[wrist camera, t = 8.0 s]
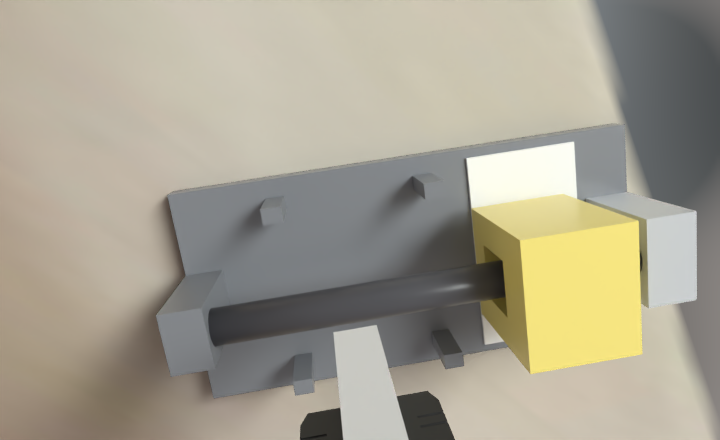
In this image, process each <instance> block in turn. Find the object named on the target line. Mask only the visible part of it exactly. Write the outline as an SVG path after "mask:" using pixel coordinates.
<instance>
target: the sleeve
mask: <svg viewBox="0 0 720 440" xmlns="http://www.w3.org/2000/svg"><path fill="white" fill-rule="evenodd" d="M471 211H472V221H473V231H474V241H475V251H476V261H477V264H480V263H486V262H492V261H498V260H502V261H503V271H504V282H505V294H506V297H504V298H498V299H492V300H486V301H481V312H482V314H483V316H484V317H485V318H486V319H487V321H488V322H489V323H490V324H491V326H492V327H493V328H494V329H495V331H496V332H497V333H498V334H499V336H500V337H501V338H502V339H503V341H504V342H505V343H506V344H507V345H508V347H509V348H510V349H511V350H512V352H513V353H514V354H515V355H516V357H517V358H518V359H519V360H520V362H521V363H522V364H523V365H524V367H525V368H526V369H527V370H528V372H529V373H530V374H534V373H540V372H545V371H551V370H556V369H562V368H568V367H573V366H579V365H584V364H590V363H596V362H601V361H607V360H612V359H618V358H624V357H629V356H635V355H640V354H642V327H641V289H640V252H639V221H638V220H635V219H632V218H629V217H626V216H624V215H621V214H618V213H615V212H612V211H610V210H607V209H604V208H601V207H598V206H596V205H593V204H590V203H587V202H584V201H582V200H579V199H576V198H573V197H570V196H568V195H565V194H558V195H551V196H545V197H539V198H533V199H527V200H520V201H514V202H508V203H502V204H495V205H489V206H483V207H477V208H471Z"/></svg>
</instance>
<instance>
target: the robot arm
mask: <svg viewBox="0 0 720 440" xmlns="http://www.w3.org/2000/svg"><path fill="white" fill-rule="evenodd" d="M333 334H334V345H335V355H336V366H337V377H338V388H339V399H340V408H337V409H331V410H326V411H320V412H314V413H309V414H307V416H306V418H305V419H304V421H303V423H302V424H301V427H300V440H455V439H454V436H453V434H452V431H451V429H450V427H449V424H448V423H447V419H446V417H445V414H444V413H443V410H442V407H441V405H440V402H439V400H438V399H437V398H436V397H434V396H433V395H432V394H431V393H429V392H428V391H425V392H419V393H413V394H408V395H402V396H396V393H395V389H394V386H393V382H392V378H391V375H390V371H389V368H388V364H387V360H386V357H385V353H384V350H383V346H382V343H381V339H380V335H379V332H378V328H377V325H374V326H368V327H362V328H356V329H350V330H344V331H339V332H333Z"/></svg>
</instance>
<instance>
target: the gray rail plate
mask: <svg viewBox="0 0 720 440" xmlns="http://www.w3.org/2000/svg"><path fill="white" fill-rule="evenodd" d="M558 194H565V195H568V196H570V197H573V198H576V199H579V200H582V201H584V202H587V203H590V204H593V205H596V206H598V207H601V208H604V209H607V210H610V211H612V212H615V213H618V214H621V215H624V216H626V217H629V218H632V219H635V220H638V221H639V252H640V289H641V304H643V305H644V306H646V307H648V308H653V307H659V306H664V305H670V304H676V303H682V302H687V301H693V300H696V297H697V296H696V295H697V287H696V286H697V280H696V279H697V271H696V269H697V267H696V263H697V257H696V255H697V252H696V211H694V210H690V209H686V208H683V207H679V206H676V205H672V204H668V203H665V202H661V201H658V200H654V199H651V198H647V197H643V196H640V195H636V194H633V193H629V192H627V183H626V151H625V124H607V125H600V126H594V127H587V128H581V129H574V130H568V131H561V132H555V133H548V134H542V135H535V136H529V137H522V138H516V139H509V140H503V141H497V142H490V143H484V144H477V145H471V146H464V147H458V148H451V149H445V150H438V151H432V152H425V153H419V154H412V155H406V156H399V157H393V158H386V159H380V160H373V161H367V162H360V163H354V164H347V165H341V166H334V167H328V168H322V169H315V170H309V171H302V172H296V173H289V174H283V175H276V176H270V177H263V178H257V179H250V180H244V181H237V182H231V183H224V184H218V185H211V186H205V187H198V188H192V189H185V190H179V191H173V192H171V193H170V194H168V195H167V196H168V201H169V205H170V210H171V214H172V218H173V223H174V227H175V231H176V236H177V240H178V244H179V249H180V253H181V258H182V262H183V266H184V271H185V275H186V276H185V277H184V279H183V280H182V281H181V283H180V284H179V285H178V287H177V288H176V289H175V291H174V292H173V293H172V295H171V296H170V297H169V299H168V300H167V301H166V303H165V304H164V305H163V307H162V308H161V309H160V311H159V312H158V313H157V315H156V318H157V322H158V326H159V331H160V335H161V339H162V343H163V347H164V351H165V355H166V359H167V363H168V367H169V371H170V375H171V377H173V376H179V375H184V374H190V373H196V372H202V371H208V375H209V380H210V384H211V388H212V393H213V397H214V398H220V397H225V396H231V395H237V394H242V393H248V392H254V391H260V390H265V389H271V388H277V387H282V386H288V385H293V386H294V391H295V396H296V395H302V394H308V393H313V392H314V381H317V380H322V379H328V378H334V377H337V366H336V355H335V345H334V334H333V332H339V331H344V330H350V329H356V328H362V327H368V326H374V325H377V328H378V332H379V335H380V339H381V343H382V346H383V350H384V353H385V357H386V360H387V364H388V368H391V367H397V366H402V365H408V364H414V363H419V362H425V361H431V360H436V359H441V361H442V363H443V365H444V367H445V369H450V368H455V367H461V366H464V360H463V355H465V354H471V353H476V352H482V351H488V350H494V349H499V348H505V347H508V345H507V344H506V343H505V342H504V341H503V339H502V338H501V337H500V336H499V334H498V333H497V332H496V331H495V329H494V328H493V327H492V326H491V324H490V323H489V322H488V321H487V319H486V318H485V317H484V316H483V314H482V312H481V301H486V300H492V299H498V298H504V297H506V294H505V282H504V271H503V261H502V260H498V261H492V262H486V263H480V264H477V261H476V251H475V241H474V231H473V221H472V211H471V208H477V207H483V206H489V205H495V204H502V203H508V202H514V201H520V200H527V199H533V198H539V197H545V196H551V195H558Z"/></svg>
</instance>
